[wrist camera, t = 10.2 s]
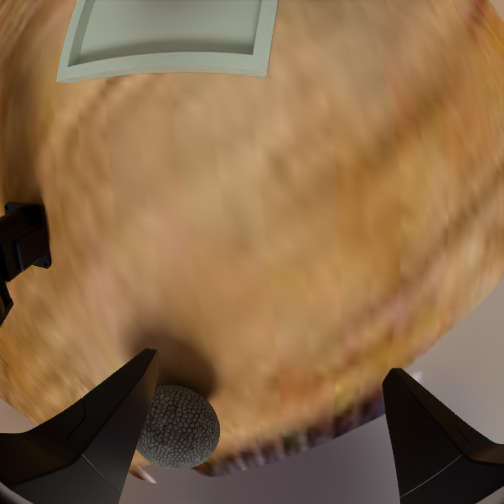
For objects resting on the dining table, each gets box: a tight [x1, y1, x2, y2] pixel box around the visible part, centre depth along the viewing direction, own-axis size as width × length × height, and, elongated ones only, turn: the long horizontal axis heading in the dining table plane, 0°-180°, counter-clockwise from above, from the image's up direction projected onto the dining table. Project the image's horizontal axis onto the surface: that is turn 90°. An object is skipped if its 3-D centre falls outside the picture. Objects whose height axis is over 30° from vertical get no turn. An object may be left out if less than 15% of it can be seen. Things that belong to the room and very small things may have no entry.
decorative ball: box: [136, 385, 220, 470], centre depth 24 cm, size 10×10×10 cm
